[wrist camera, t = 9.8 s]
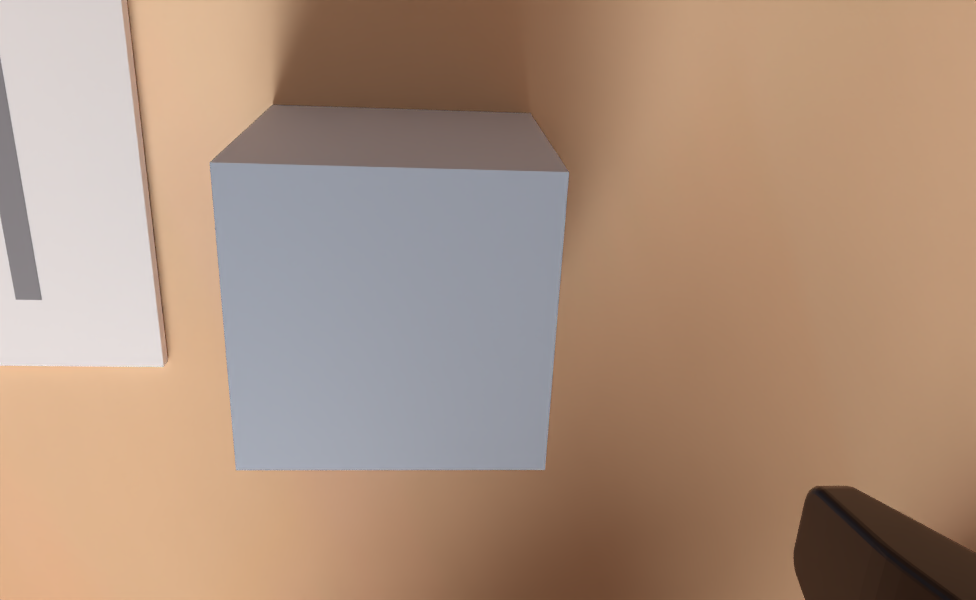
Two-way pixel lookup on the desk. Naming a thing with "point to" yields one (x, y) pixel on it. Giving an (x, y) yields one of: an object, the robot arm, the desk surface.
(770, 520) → the desk surface
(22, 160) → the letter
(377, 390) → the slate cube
